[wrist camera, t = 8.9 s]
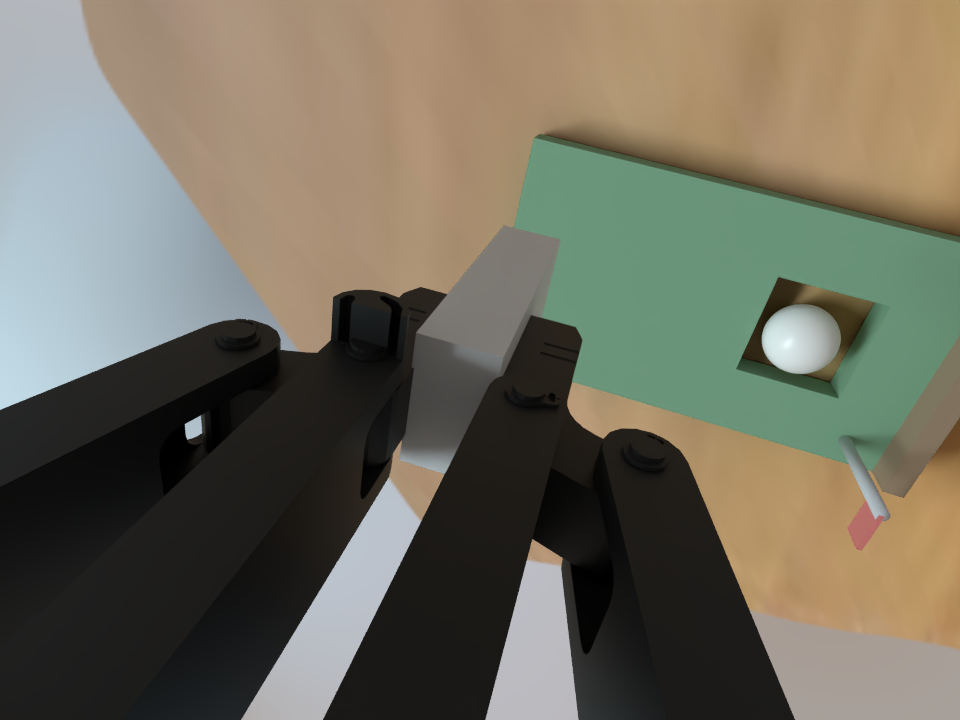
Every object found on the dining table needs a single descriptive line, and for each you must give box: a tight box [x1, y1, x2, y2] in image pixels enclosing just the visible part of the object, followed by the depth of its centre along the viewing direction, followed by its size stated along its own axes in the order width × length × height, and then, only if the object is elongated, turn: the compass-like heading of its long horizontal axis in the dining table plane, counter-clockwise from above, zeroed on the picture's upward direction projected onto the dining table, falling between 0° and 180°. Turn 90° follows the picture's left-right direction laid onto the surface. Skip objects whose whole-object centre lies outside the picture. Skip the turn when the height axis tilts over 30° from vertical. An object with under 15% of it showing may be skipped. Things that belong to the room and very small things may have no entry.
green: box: [514, 134, 960, 551], centre depth 33 cm, size 15×26×9 cm, turn 78°
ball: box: [762, 304, 841, 374], centre depth 35 cm, size 4×4×4 cm
